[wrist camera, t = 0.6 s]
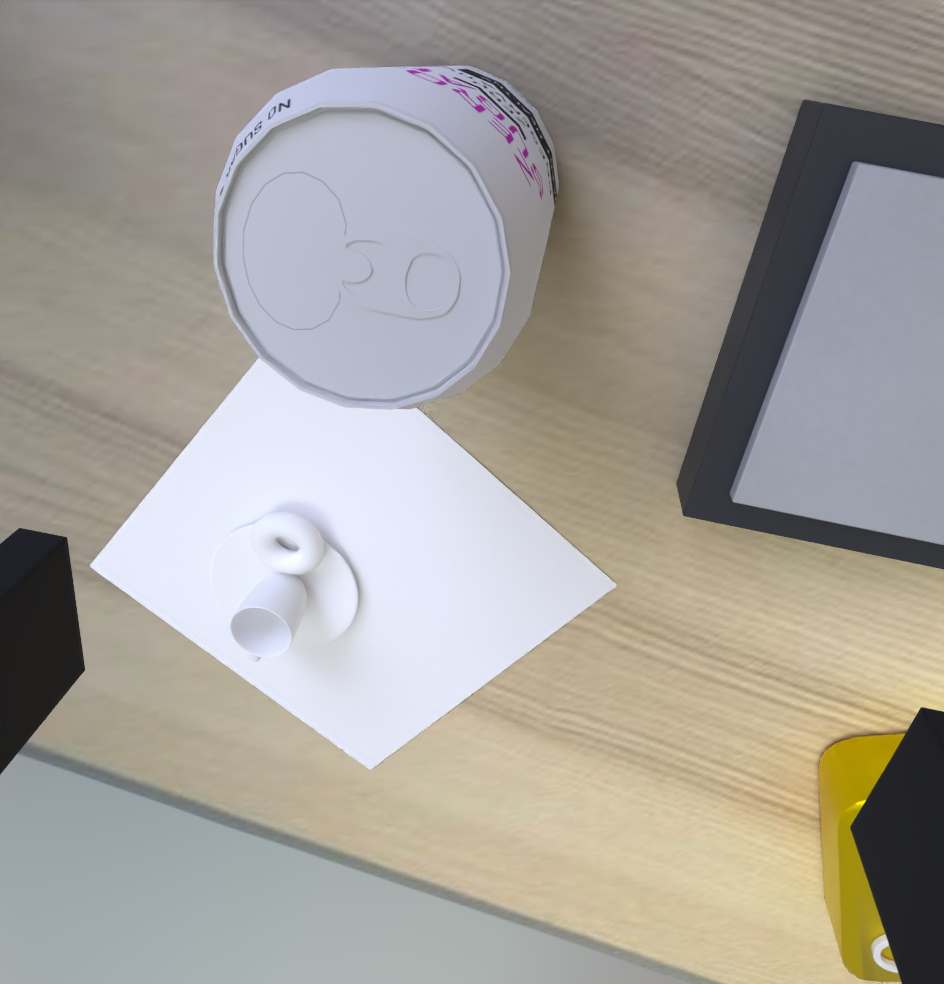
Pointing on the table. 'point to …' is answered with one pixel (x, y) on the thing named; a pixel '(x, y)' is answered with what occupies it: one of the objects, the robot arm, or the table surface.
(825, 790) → the element tile
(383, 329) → the white drink can
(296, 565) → the teacup and saucer
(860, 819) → the robot arm
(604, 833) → the table surface
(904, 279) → the scale
